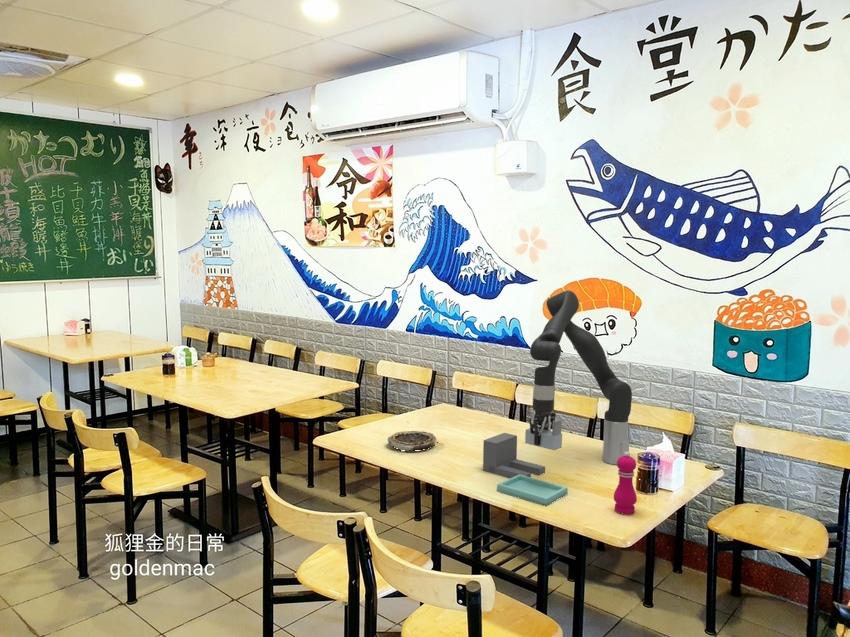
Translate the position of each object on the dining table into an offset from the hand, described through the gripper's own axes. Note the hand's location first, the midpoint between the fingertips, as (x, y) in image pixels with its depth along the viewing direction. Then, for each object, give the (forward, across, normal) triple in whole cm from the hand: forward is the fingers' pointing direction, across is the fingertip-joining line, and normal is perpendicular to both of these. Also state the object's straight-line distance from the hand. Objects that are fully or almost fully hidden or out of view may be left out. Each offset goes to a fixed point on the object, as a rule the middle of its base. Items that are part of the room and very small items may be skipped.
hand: (541, 443), depth 234 cm
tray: (+16, +7, +1) cm, 18 cm away
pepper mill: (+16, -1, +32) cm, 36 cm away
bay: (+16, -7, -16) cm, 24 cm away
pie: (+17, -3, -67) cm, 69 cm away
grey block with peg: (+1, 0, +1) cm, 1 cm away
